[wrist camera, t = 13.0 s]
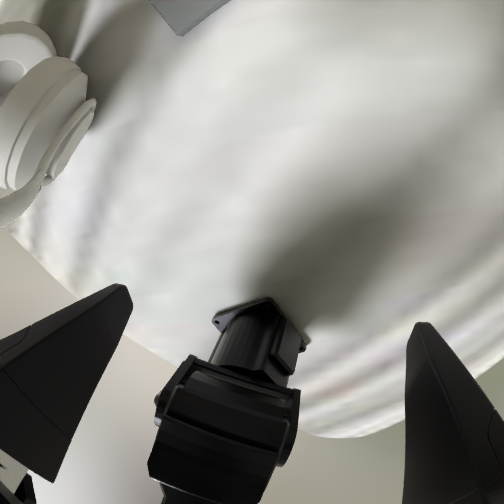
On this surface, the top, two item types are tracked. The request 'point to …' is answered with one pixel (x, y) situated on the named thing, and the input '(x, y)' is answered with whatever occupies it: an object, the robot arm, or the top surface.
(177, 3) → the rubber mat
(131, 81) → the top surface
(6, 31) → the headphones
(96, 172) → the top surface
